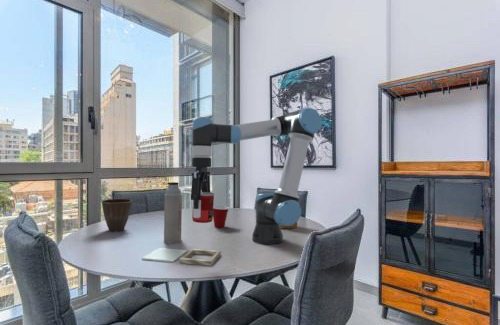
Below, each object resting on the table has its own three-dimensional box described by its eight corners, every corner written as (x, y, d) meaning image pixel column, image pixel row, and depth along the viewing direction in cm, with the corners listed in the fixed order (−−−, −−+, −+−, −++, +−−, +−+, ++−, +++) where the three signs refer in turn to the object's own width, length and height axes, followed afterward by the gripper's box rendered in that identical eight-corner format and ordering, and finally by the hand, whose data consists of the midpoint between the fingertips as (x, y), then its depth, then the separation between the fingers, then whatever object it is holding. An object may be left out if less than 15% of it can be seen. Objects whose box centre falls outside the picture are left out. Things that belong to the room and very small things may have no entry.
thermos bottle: (183, 239, 138) (184, 182, 138) (176, 243, 130) (177, 183, 130) (168, 238, 139) (169, 181, 139) (160, 242, 131) (161, 182, 131)
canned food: (212, 223, 107) (214, 194, 107) (191, 222, 106) (192, 193, 106) (212, 218, 115) (213, 192, 115) (192, 218, 114) (193, 191, 114)
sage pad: (187, 251, 119) (187, 250, 119) (173, 262, 106) (173, 260, 106) (159, 249, 121) (159, 248, 121) (141, 259, 108) (141, 258, 108)
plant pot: (137, 229, 156) (137, 200, 156) (111, 234, 144) (112, 203, 144) (121, 225, 164) (121, 198, 164) (95, 230, 152) (96, 200, 152)
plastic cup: (228, 229, 160) (228, 208, 160) (209, 228, 160) (209, 207, 160) (229, 224, 171) (230, 205, 171) (212, 224, 171) (212, 204, 171)
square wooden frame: (220, 254, 116) (220, 251, 116) (210, 265, 103) (210, 261, 103) (192, 252, 118) (192, 248, 118) (179, 262, 106) (179, 258, 106)
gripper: (202, 157, 121) (201, 210, 121) (181, 156, 101) (180, 219, 101) (218, 157, 120) (217, 211, 120) (201, 156, 100) (200, 220, 100)
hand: (200, 215), depth 111 cm, fingers closed on canned food, 8 cm apart
